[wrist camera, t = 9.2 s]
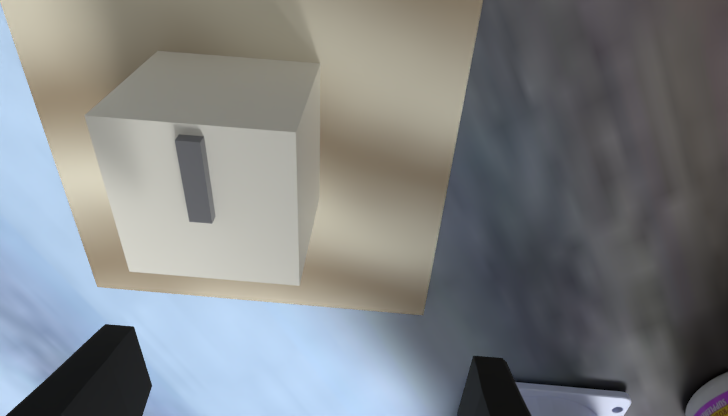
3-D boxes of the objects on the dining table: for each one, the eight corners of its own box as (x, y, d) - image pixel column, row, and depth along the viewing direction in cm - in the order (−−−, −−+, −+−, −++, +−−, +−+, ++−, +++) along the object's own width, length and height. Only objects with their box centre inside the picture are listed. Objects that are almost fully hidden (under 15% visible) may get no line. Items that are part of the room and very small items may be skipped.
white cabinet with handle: (319, 197, 19) (297, 293, 15) (182, 186, 19) (124, 278, 15) (320, 63, 16) (293, 138, 12) (157, 51, 16) (77, 121, 12)
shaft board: (422, 298, 23) (425, 375, 19) (108, 270, 23) (59, 342, 20) (502, -138, 13) (534, -129, 10) (-34, -179, 13) (-172, -184, 10)
